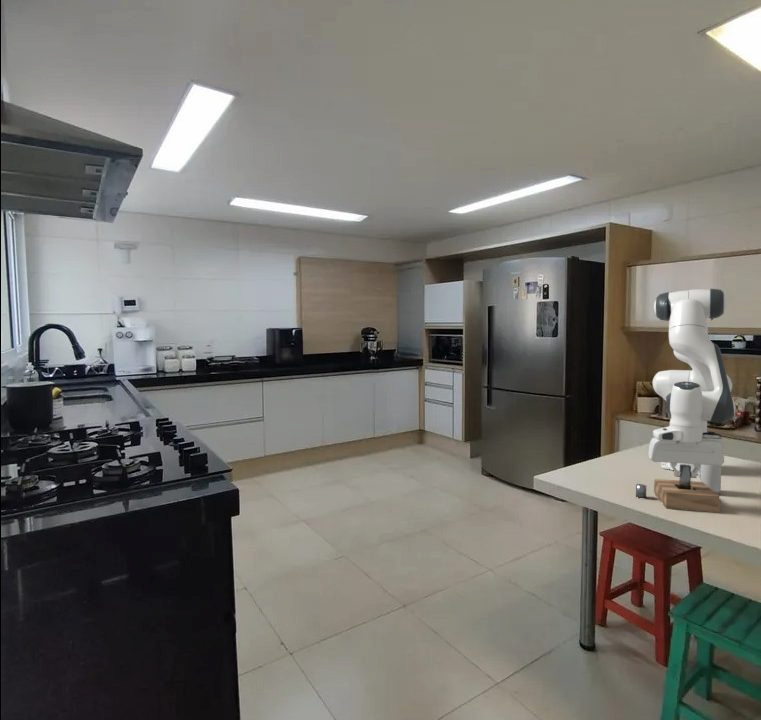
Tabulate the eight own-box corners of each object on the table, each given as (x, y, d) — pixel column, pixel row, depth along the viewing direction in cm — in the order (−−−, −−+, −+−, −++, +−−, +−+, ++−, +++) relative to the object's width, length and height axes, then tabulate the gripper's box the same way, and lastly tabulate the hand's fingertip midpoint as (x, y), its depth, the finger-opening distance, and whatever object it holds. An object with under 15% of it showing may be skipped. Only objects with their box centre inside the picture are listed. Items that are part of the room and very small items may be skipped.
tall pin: (677, 491, 151) (678, 463, 151) (688, 492, 150) (689, 464, 150) (680, 494, 148) (681, 466, 148) (691, 495, 147) (692, 467, 147)
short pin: (634, 495, 157) (635, 483, 157) (645, 496, 156) (645, 484, 156) (637, 498, 154) (637, 486, 154) (647, 499, 153) (647, 487, 153)
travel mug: (721, 491, 159) (722, 432, 158) (719, 496, 154) (721, 436, 153) (699, 487, 163) (700, 430, 162) (696, 492, 158) (698, 433, 157)
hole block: (654, 493, 158) (654, 478, 158) (702, 496, 154) (702, 481, 154) (666, 508, 145) (666, 492, 145) (719, 512, 141) (719, 496, 141)
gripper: (720, 433, 148) (719, 476, 149) (647, 430, 154) (646, 471, 155) (728, 437, 142) (727, 482, 143) (652, 434, 148) (651, 477, 149)
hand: (684, 476), depth 149 cm, fingers closed on tall pin, 3 cm apart
